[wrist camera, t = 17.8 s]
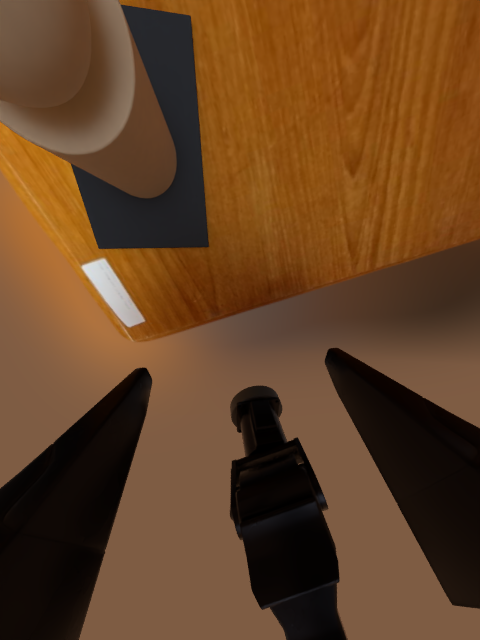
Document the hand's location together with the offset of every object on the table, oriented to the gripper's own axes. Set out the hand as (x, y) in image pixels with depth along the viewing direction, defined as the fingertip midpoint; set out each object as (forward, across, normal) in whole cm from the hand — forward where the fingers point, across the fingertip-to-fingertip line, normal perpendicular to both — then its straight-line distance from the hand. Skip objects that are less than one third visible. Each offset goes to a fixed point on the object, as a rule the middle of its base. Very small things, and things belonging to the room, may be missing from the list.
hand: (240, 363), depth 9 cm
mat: (+14, +6, -10) cm, 18 cm away
